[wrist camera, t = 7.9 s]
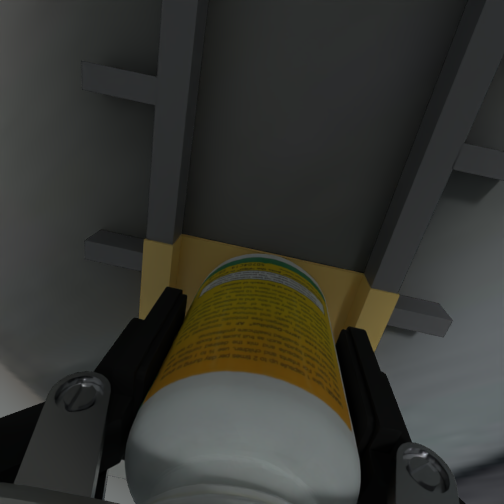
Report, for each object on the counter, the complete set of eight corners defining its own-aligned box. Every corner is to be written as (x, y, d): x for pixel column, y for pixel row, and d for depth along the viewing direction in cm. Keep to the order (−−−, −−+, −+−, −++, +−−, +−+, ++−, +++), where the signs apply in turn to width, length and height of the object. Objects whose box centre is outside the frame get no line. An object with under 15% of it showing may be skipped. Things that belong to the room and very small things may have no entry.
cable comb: (103, -287, 8) (-168, -885, 3) (678, -167, 8) (1289, -595, 3) (100, 386, 17) (28, 493, 12) (366, 445, 17) (398, 575, 12)
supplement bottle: (334, 350, 14) (415, 744, 5) (216, 364, 15) (122, 720, 6) (314, 236, 12) (393, 567, 3) (180, 260, 13) (-33, 571, 4)
